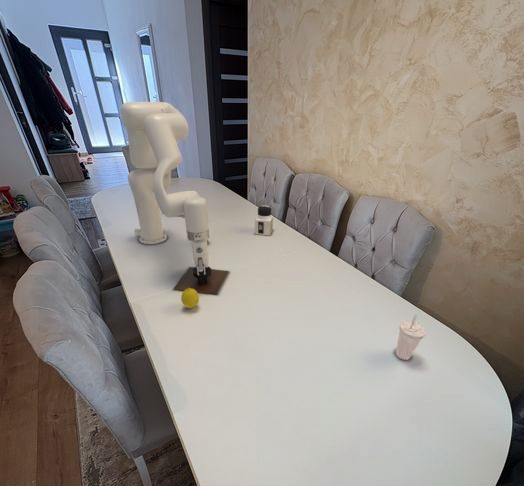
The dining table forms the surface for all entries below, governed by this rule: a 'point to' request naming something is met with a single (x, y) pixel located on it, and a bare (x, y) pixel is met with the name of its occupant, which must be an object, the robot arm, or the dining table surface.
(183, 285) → the placemat
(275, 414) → the dining table surface
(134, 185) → the robot arm
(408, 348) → the smoothie
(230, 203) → the dining table surface
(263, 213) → the container
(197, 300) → the fruit
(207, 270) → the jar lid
